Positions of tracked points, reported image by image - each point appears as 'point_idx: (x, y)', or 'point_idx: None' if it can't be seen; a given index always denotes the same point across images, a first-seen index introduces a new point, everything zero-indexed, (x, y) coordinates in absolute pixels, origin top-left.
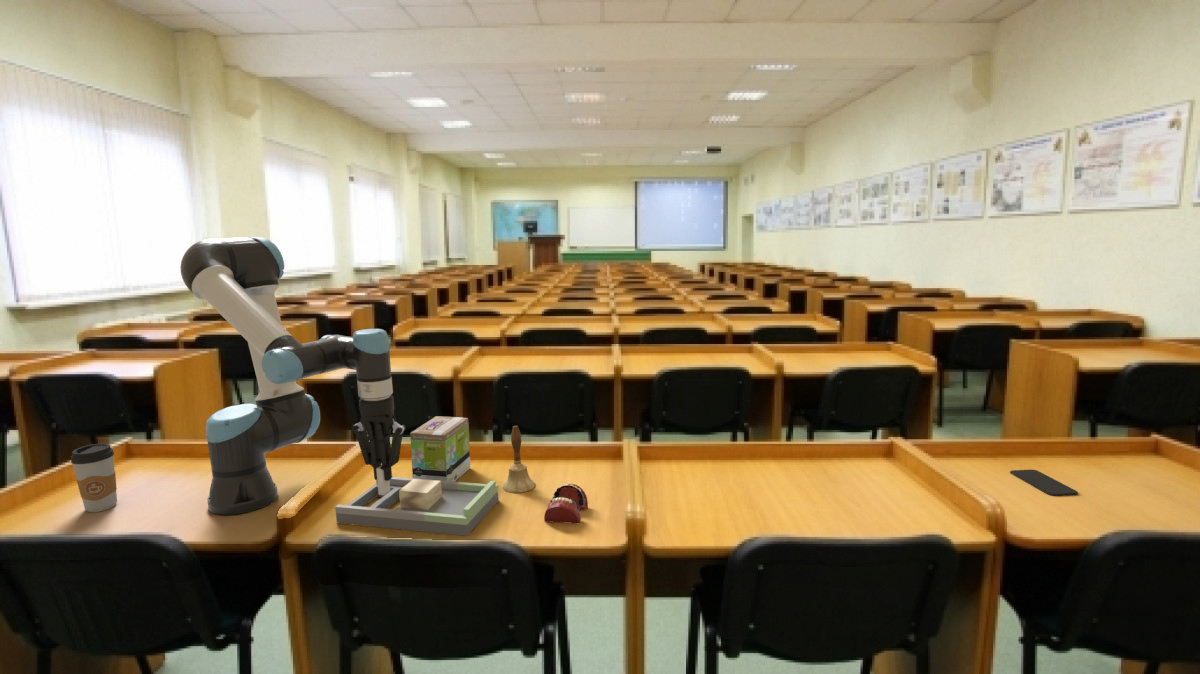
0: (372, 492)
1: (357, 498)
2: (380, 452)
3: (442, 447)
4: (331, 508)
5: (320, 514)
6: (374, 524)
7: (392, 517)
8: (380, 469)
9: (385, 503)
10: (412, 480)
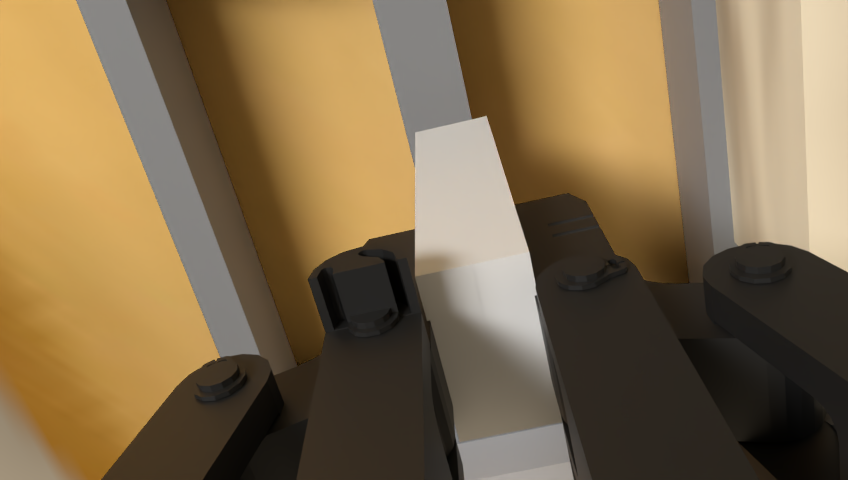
0: (150, 31)
1: (201, 266)
2: (431, 471)
3: None
4: (21, 311)
5: (51, 409)
6: None
7: None
8: (536, 424)
9: None
10: (813, 16)
